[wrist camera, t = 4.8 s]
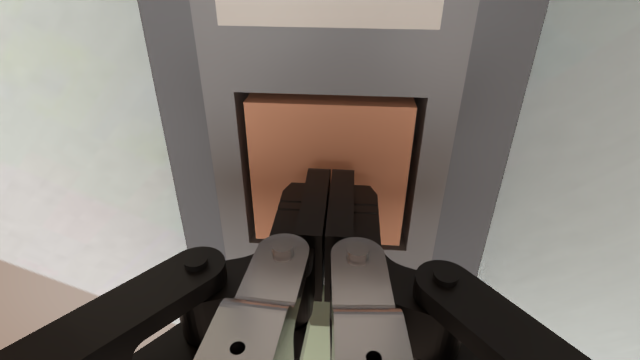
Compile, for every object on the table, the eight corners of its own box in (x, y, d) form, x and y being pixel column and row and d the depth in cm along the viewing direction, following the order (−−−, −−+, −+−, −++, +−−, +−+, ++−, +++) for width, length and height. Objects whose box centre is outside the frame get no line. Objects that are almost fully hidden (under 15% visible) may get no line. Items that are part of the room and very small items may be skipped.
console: (584, -241, 13) (737, -358, 8) (454, 305, 25) (480, 401, 20) (119, -231, 14) (-22, -331, 9) (211, 291, 26) (175, 379, 21)
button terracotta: (406, 79, 15) (417, 107, 13) (392, 201, 18) (399, 245, 15) (261, 75, 16) (243, 102, 13) (269, 196, 18) (255, 238, 16)
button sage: (390, 273, 18) (396, 330, 15) (380, 355, 21) (384, 415, 18) (266, 267, 18) (251, 321, 16) (272, 348, 21) (260, 405, 18)
